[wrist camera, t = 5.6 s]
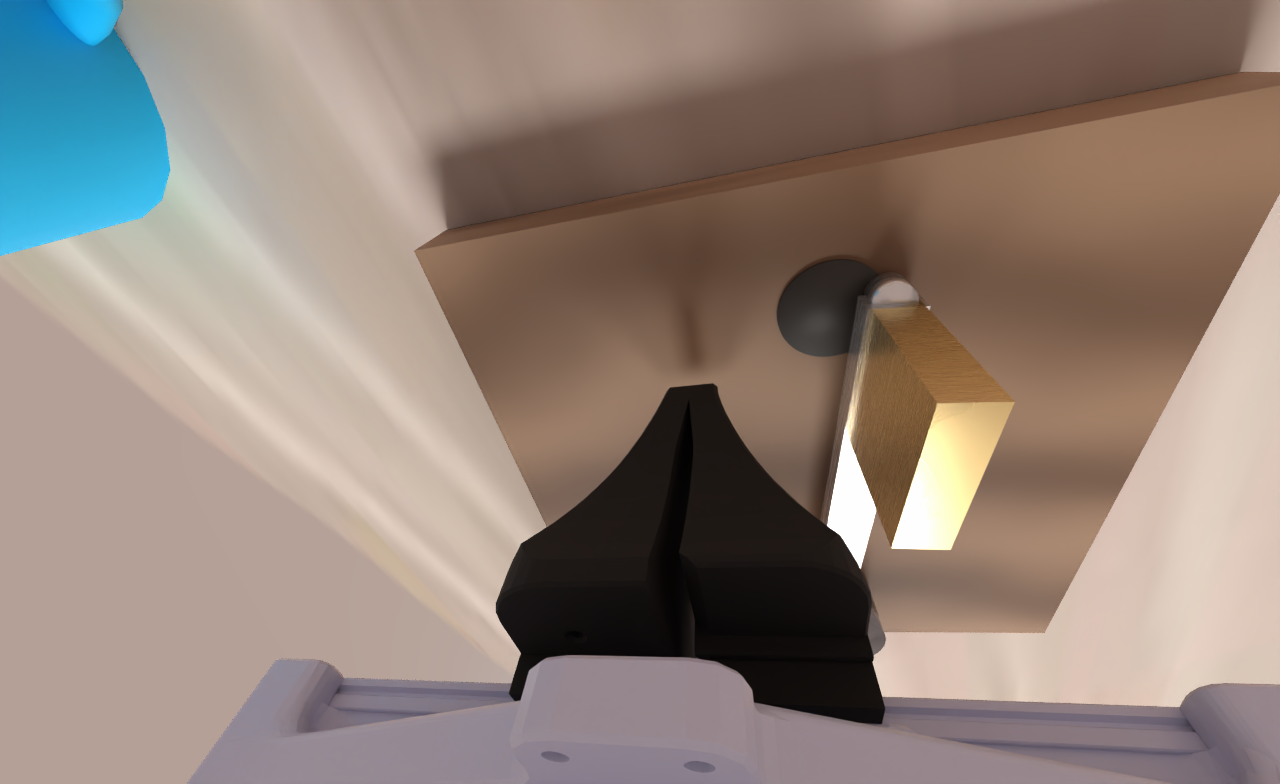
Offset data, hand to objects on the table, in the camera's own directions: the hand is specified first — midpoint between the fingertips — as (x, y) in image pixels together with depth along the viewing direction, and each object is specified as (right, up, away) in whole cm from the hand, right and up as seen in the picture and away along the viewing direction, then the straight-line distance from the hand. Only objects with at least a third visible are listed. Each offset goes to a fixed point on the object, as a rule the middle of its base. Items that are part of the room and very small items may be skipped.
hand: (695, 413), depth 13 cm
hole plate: (+4, -1, +5) cm, 6 cm away
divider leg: (+6, -3, +3) cm, 7 cm away
